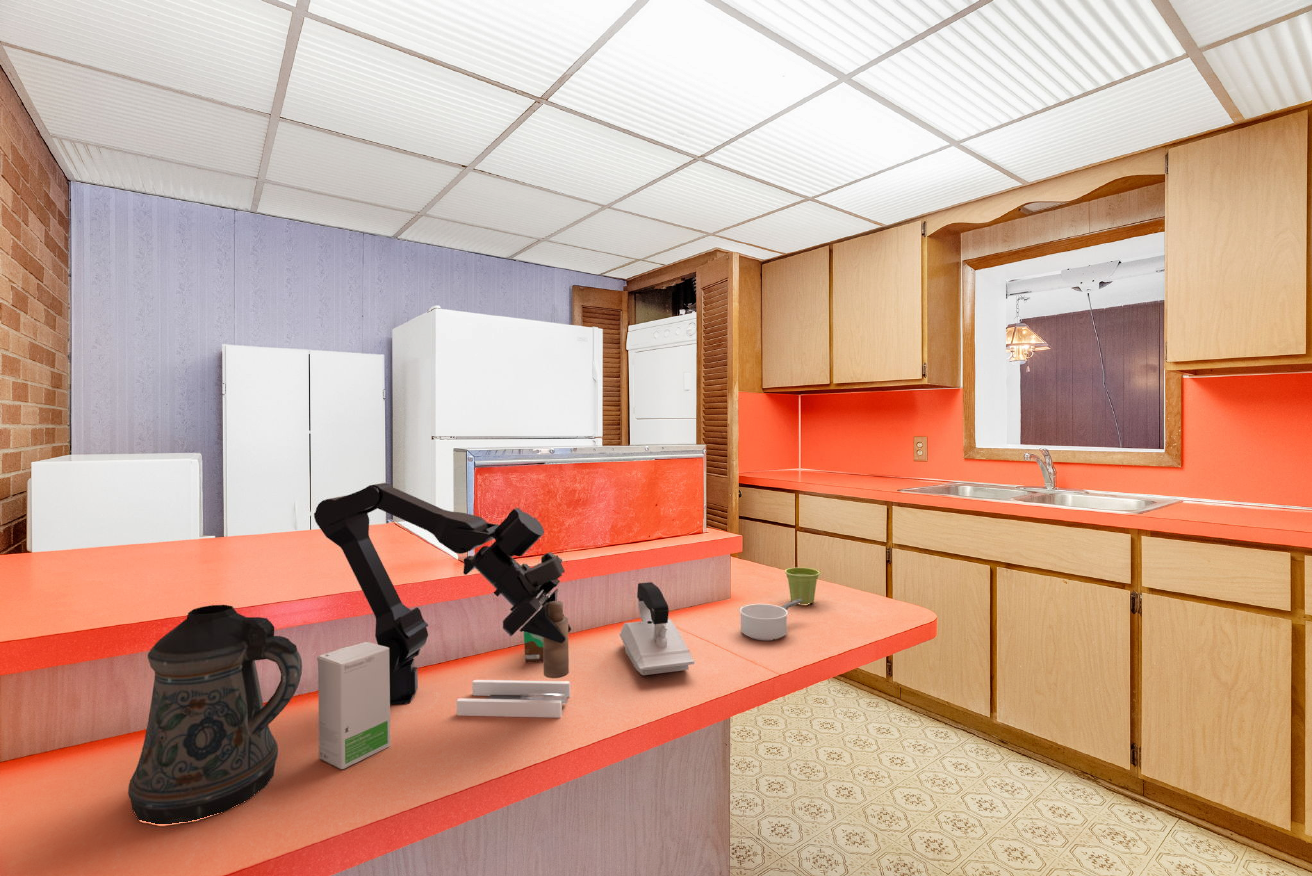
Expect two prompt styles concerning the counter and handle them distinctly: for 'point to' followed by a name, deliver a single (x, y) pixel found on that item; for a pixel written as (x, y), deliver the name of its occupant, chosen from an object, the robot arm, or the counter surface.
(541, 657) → the food container
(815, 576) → the plant pot
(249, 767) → the beer stein
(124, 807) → the counter surface
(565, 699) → the rod
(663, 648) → the iron
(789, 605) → the saucepan
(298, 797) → the counter surface
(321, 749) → the skincare box
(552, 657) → the walnut skittle
